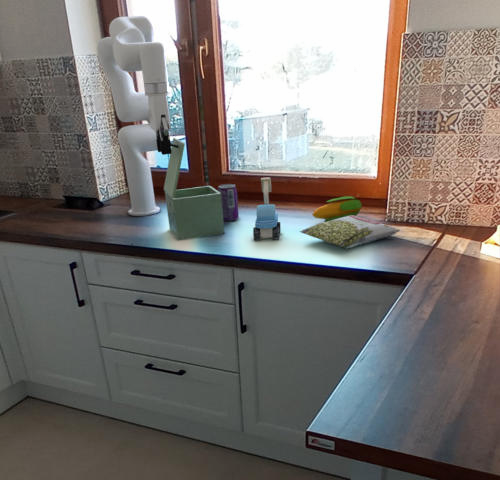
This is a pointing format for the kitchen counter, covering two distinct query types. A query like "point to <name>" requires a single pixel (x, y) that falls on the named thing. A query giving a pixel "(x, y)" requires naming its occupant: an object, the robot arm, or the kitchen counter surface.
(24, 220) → the kitchen counter surface
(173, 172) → the green box lid
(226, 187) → the beverage can
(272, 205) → the toy excavator
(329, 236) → the frozen beans
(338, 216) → the corn
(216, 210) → the green box
